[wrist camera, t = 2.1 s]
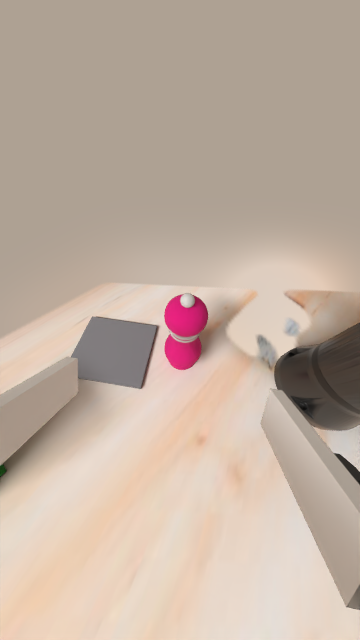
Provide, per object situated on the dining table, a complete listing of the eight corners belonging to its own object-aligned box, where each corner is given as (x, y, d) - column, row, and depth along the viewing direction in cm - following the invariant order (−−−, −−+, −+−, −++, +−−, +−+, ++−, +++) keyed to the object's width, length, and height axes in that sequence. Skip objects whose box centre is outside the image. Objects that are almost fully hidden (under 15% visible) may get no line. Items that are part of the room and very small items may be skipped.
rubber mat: (157, 327, 40) (156, 325, 39) (141, 388, 33) (140, 388, 32) (93, 318, 41) (92, 316, 40) (63, 375, 34) (61, 374, 33)
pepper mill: (167, 340, 38) (160, 273, 21) (198, 341, 38) (216, 275, 21) (164, 371, 35) (153, 320, 18) (198, 373, 34) (221, 323, 18)
